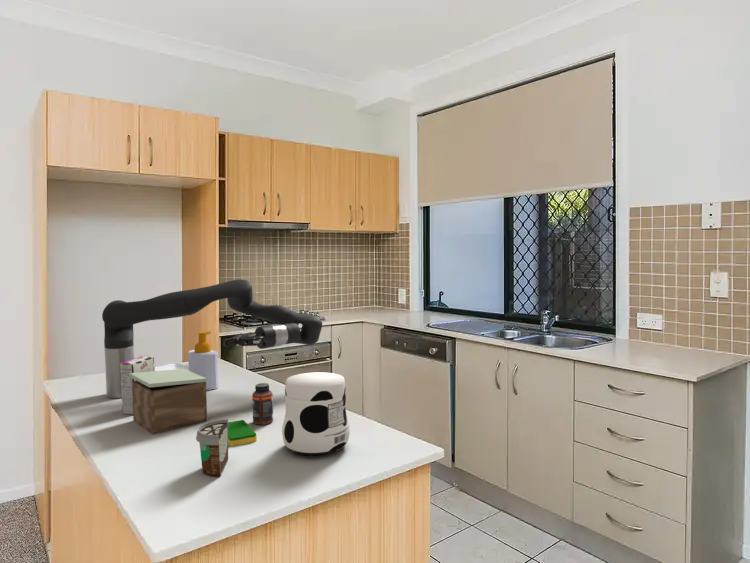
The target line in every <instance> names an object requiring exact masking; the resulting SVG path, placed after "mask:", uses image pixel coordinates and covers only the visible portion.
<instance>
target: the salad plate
mask: <svg viewBox="0 0 750 563" xmlns="http://www.w3.org/2000/svg"><path fill="white" fill-rule="evenodd" d="M175 369H186V370H188V371H189V367H188V364H183V363H176V362H175V363H170V364H164V365H159V366H154V371H163V370H175Z"/></svg>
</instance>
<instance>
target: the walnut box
mask: <svg viewBox="0 0 750 563" xmlns="http://www.w3.org/2000/svg"><path fill="white" fill-rule="evenodd" d="M132 396H133V415H132V416H133V420H132V421H134V422H135V423H136V424H137V425H139V426H140V427H141V428H143V429H145V430H146V431H147V432H148V433H150V434H151V433H152V434H151V435H155V433H156V434H159V432H160V433H164V432H168V431H167V430H169V431H172V430H171V429H173V430H176V429H175V428H177V429H180V427H181V428H185V426H186V427H189V425H190V426H194V425H198V424H201V423H207V422H208V405H207V401H208V399H207V390H206V382H199V383H189V384H179V385H169V386H159V387H147V386H146V385H144V384H142V383H140V382H138V381H132ZM206 421H207V422H206ZM193 424H194V425H193ZM163 431H164V432H163Z"/></svg>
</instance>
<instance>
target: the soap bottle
mask: <svg viewBox="0 0 750 563" xmlns="http://www.w3.org/2000/svg"><path fill="white" fill-rule="evenodd" d="M211 333H212V331H210V330H209V331H208V330H207V331H201V332H200V331H199V332H198V342H197V343H196V344H195V345H194V349H192V350H189V351H188V353H187V358H188V360H187V362H188V363H187V365H188V367H189V371H190V372H193V373H195V374H198V375H200V376H202V377H205V378H207V382H206V391H212V389H213V390H217V389H219V384H220V383H219V381H220V380H219V352H218V351H216V350H213V349H212V350H211V348H212V347H211V344H210V343H209V342H208V341H207V335H210V334H211Z"/></svg>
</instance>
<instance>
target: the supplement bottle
mask: <svg viewBox="0 0 750 563" xmlns="http://www.w3.org/2000/svg"><path fill="white" fill-rule="evenodd" d="M254 389H255V391H253V393H252V395H251V396H252V398H251V399H252V400H251V401H252V402H251V403H252V422H253V424H255V425H258V426H259V425H262V426H263V425H268V424H271V423H273V421H274V399H273V397H274V396H273V391H271V390H270V384H269V383H268V382H267V383H266V382H260V383H256V384H255V387H254Z"/></svg>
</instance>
